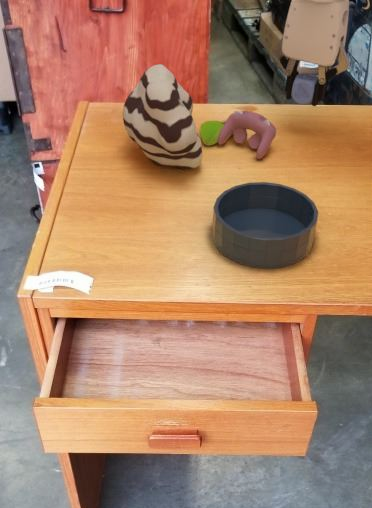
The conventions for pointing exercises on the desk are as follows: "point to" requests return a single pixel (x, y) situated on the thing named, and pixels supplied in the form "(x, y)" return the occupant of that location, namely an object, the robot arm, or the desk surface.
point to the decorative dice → (304, 88)
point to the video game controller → (250, 121)
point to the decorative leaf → (211, 132)
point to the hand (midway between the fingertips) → (303, 99)
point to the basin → (264, 224)
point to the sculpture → (163, 120)
